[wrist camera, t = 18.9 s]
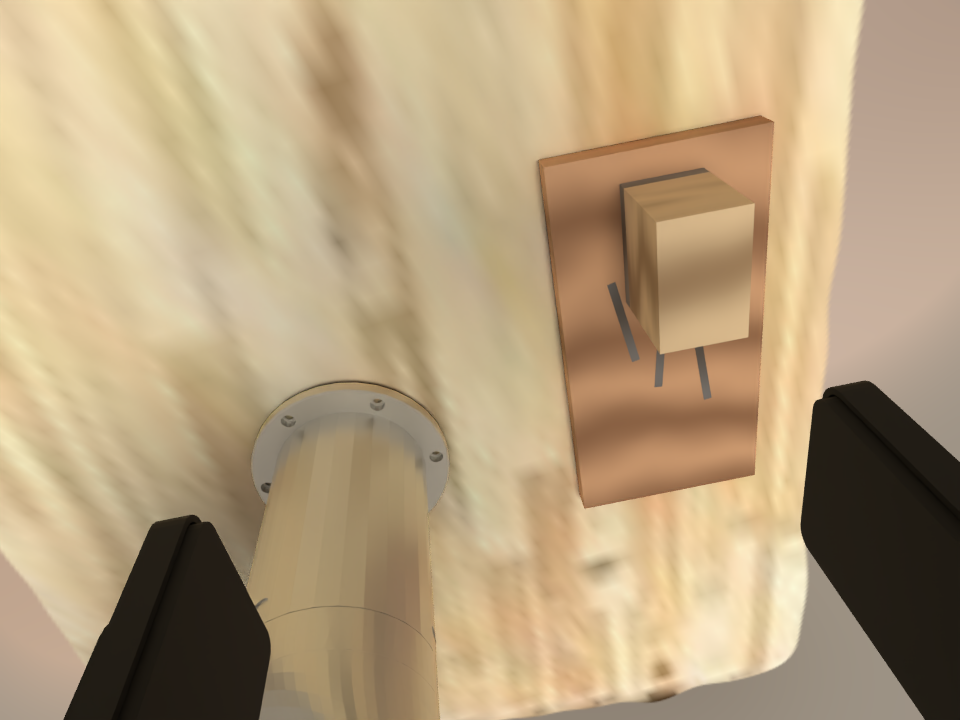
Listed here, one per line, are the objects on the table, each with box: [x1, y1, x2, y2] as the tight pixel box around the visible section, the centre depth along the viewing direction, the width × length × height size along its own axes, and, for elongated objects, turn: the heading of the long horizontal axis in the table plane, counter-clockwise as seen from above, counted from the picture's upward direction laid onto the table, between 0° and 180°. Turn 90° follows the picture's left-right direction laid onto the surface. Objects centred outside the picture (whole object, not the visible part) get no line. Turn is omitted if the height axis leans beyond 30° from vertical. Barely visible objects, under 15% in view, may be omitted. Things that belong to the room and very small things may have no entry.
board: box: [539, 116, 774, 508], centre depth 42 cm, size 24×12×2 cm, turn 10°
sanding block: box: [619, 168, 755, 354], centre depth 35 cm, size 7×4×6 cm, turn 9°
